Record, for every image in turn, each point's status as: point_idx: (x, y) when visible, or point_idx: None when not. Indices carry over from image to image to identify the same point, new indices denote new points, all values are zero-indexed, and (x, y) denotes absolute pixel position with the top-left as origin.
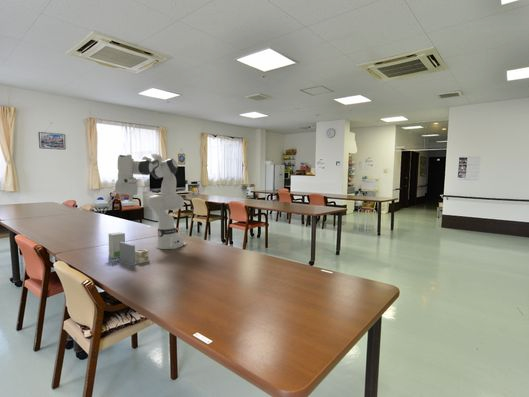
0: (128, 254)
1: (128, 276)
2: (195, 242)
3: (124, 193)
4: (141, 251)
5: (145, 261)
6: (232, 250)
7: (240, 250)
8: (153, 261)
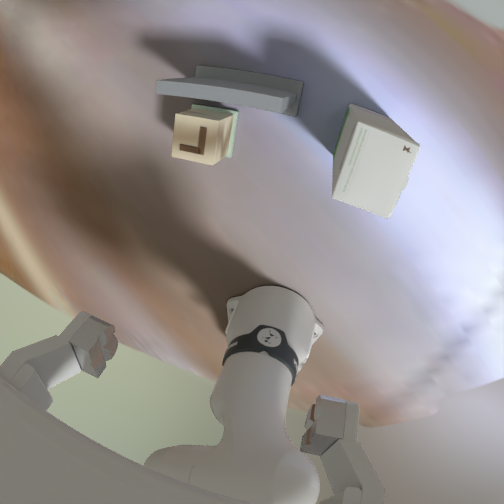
0: (212, 81)
1: (124, 5)
2: None
3: (97, 457)
4: (184, 131)
5: None
6: None
7: None
8: (170, 147)
